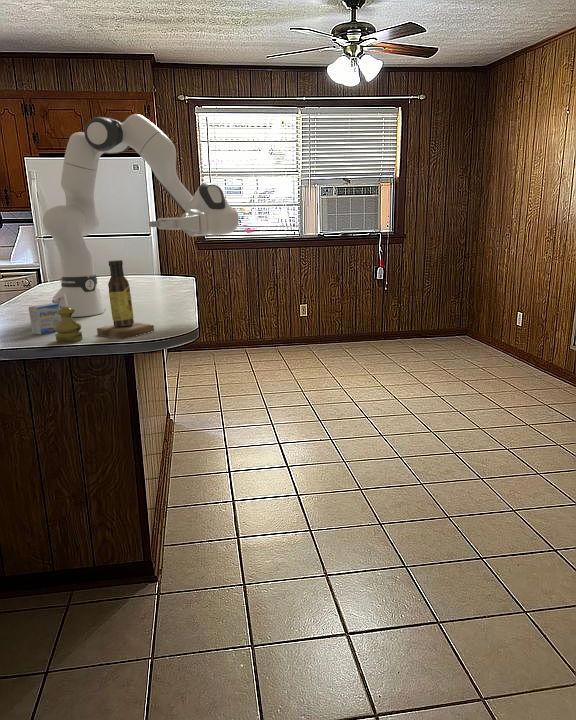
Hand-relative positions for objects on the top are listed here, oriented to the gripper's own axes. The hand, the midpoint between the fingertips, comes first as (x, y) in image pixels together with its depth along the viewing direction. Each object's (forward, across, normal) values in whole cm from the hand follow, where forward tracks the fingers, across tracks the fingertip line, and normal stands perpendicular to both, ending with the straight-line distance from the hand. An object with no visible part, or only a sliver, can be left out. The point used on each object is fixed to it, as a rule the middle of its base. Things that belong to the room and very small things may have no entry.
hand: (154, 224), depth 181 cm
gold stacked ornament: (+32, +8, +32) cm, 46 cm away
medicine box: (+35, -11, +32) cm, 49 cm away
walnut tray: (+16, +9, +32) cm, 37 cm away
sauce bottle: (+16, +8, +30) cm, 35 cm away
